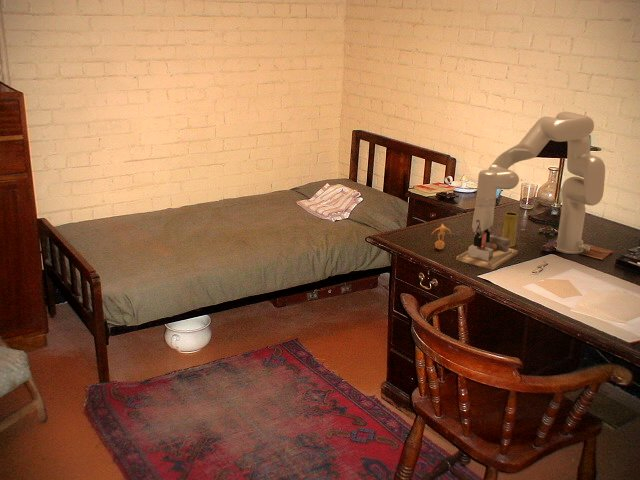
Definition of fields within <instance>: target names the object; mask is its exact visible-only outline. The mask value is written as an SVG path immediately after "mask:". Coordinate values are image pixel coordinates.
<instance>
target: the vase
mask: <svg viewBox="0 0 640 480" xmlns="http://www.w3.org/2000/svg"><path fill="white" fill-rule="evenodd" d="M518 217H519V214H518V213H517V212H514V211H513V212H512V211H507V212H505V213H504V219H503V220H504V222H503V229H502V236H501V237H503V238H507V239H510V244H509V248H512V247H515V246H516V240H517V239H516V238H517V224H518Z"/></svg>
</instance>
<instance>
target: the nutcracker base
mask: <svg viewBox="0 0 640 480" xmlns="http://www.w3.org/2000/svg"><path fill="white" fill-rule="evenodd" d="M509 244H510V239H507V238H503V237H502V236H498V235H494V234H490V241H489V243H487V242H486V244H485V247H486V248H490V249H494V250H493V259H491V260H489V261H485V260H481V259H478V258H474V257H470V256H468V250H465V251H464V252H462V253H461V254H458V255H457V256H456V258H455V259H456V261H458V262H463V263H466V264H470V265H474V266H477V267H480V268H481V267H482V268H485V269H488V270H491V271H492V270H495V269H496V268H498V267H499V266H500V265H502V264H504V263H505V262H507V261H509V260H510V259H511V258H512V259H513V258H514V257H515V256H517V255H518V253H519V250H518V249H515V248H511V247H509Z"/></svg>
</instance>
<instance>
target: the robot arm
mask: <svg viewBox="0 0 640 480" xmlns="http://www.w3.org/2000/svg"><path fill="white" fill-rule="evenodd" d="M594 128H595V121H594V120H593V118H591V117H590V116H588V115H584V114H580V113H575V112H571V111H562V112H558V113H557V114H556V115H555V117H551V116H542V117H540V118H539V119H538V120H537V121H536V122H535V124H533V126H532V127H531V128H530V129H529V131H528V132H527V133H526V134H525V136H523V138H522V139H521V140H520V141H519V143H518V144H516V145H514V146H512V147H510V148H509V149H507V150H505V151H504V152H502V153H501V154H499V155H498V156H497V158H496V159H495V160H494V161H493V162H492V164H491V165H489V167H488V169H482V170H480V171H479V173H478V177H477V187H476V199H475V206H474V211H473V217H472V223H471V228H472V233H473V237H474V238H473V244H474V246H477V247H481V245H482V238H481V236H482V233H483V232H486V233H487V235H486V242H487V243H489V241H490V235H491V232H492V227H493V225H494V220H495V206H496V203H497V192H498V190H512V189H514V188H516V187H517V186H518V184H519V182H520V178H519V175H518V174H517V173H516V172H515V171H513V170H510V169H509V168H510V167H511V166H514V165H515V164H516V163H519V162H523V161H527V160H532V159H535V158H536V157H538V155H539V154H540V153H541V152H542V150H543V149H544V148H545V147H546V145H547V144H548V143H549V142H550V141H553V142H558V143H559V142H560V143H561V142H567V153H566V154H567V158H566V159H567V160H566V168H567V171H568V172H569V173H570V174H572V175H574V176H571V177H568V178H566V179H565V180H564V182H563V183H562V186H561V201H562V202H561V203H562V204H561V212H560V218H559V226H558V233H557V239H556V242H557V247H555V248H556V250H555V251H556V252H560V253H564V254H569V255H570V254H572V255H574V254H575V255H576V254H582V253H584V251H590V250H591V246H590V244H586V243H584V240H583V239H582V236H583V230H584V224H585V216H586V206H592V207H593V206H596V205H598V204H599V203H600V202H601V200H603V199H602V198H603V196H604V193H605V192H604V190H605V181H606V179H605V178H606V166H605V162H604V160H603V159H602V158H600V157H598V156H597V155H593V154H591V139H590V138H591V137H590V135H591V134H592V133H593V131H594ZM479 232H480V234H479Z"/></svg>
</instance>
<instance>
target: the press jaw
mask: <svg viewBox="0 0 640 480" xmlns="http://www.w3.org/2000/svg"><path fill="white" fill-rule="evenodd" d="M478 232H479V234H480V231H478ZM486 235H487V233H486V232H484V231H483V233H482V236H481V238H482V245H481V247H477V246H474V243H473V244H471V245H469V246H468V248H467V249H468V250H467V251H468V256H470V257H474V258H478V259H481V260H485V261H489V260H491V259H493V250H494V249H490V248H486V247H485V244H486Z"/></svg>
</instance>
